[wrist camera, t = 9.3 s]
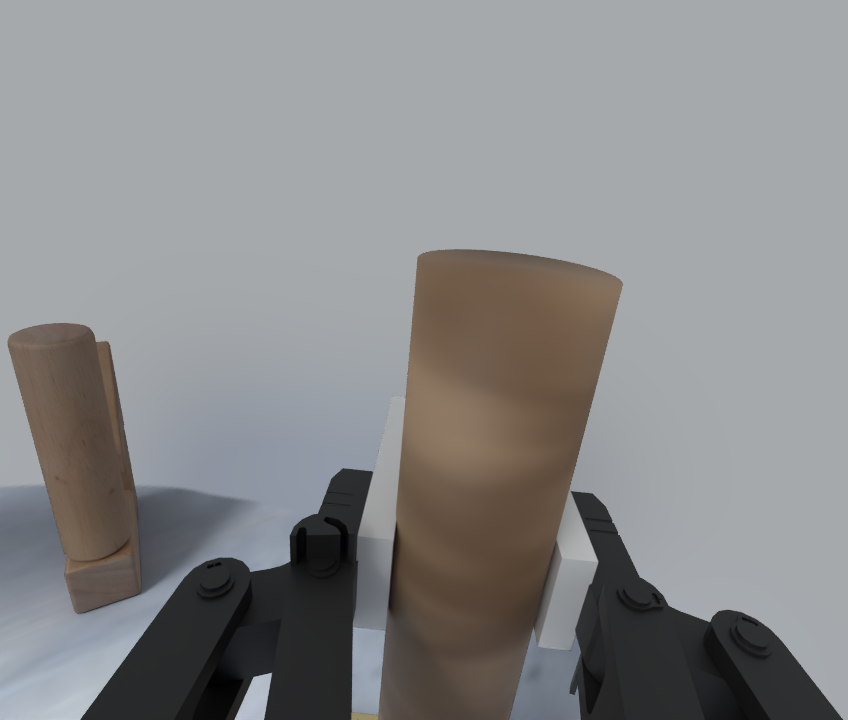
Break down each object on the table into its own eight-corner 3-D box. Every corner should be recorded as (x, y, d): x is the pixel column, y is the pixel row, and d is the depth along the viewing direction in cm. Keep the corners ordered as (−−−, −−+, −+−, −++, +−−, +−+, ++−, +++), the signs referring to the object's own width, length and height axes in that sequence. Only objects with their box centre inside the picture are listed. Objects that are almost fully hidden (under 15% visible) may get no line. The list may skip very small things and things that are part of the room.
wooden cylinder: (363, 849, 13) (410, 277, 6) (381, 708, 16) (422, 243, 10) (493, 863, 12) (660, 303, 6) (483, 719, 16) (587, 260, 10)
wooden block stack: (137, 497, 38) (99, 288, 31) (143, 595, 30) (93, 340, 23) (83, 510, 36) (31, 291, 29) (73, 619, 28) (-3, 348, 21)
